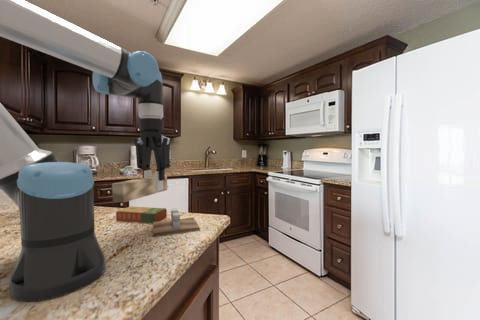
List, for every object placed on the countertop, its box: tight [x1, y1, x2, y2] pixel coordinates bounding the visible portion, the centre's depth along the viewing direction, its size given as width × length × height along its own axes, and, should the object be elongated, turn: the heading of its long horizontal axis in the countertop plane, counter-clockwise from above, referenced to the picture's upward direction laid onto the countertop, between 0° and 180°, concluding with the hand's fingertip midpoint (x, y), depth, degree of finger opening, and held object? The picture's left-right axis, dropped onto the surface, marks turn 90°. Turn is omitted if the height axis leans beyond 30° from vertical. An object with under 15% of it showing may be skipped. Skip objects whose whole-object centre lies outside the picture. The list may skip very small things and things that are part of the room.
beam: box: [111, 174, 168, 203], centre depth 71 cm, size 18×4×5 cm, turn 159°
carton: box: [115, 205, 168, 225], centre depth 87 cm, size 8×16×4 cm, turn 79°
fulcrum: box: [152, 207, 201, 237], centre depth 77 cm, size 12×14×5 cm
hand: (154, 189), depth 75 cm, fingers closed on beam, 4 cm apart
